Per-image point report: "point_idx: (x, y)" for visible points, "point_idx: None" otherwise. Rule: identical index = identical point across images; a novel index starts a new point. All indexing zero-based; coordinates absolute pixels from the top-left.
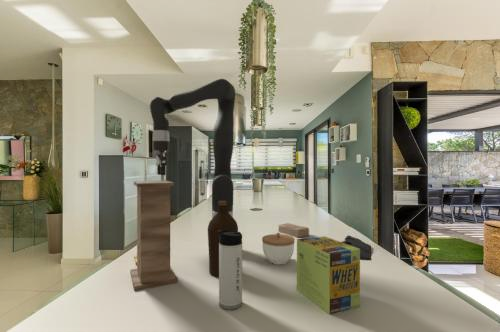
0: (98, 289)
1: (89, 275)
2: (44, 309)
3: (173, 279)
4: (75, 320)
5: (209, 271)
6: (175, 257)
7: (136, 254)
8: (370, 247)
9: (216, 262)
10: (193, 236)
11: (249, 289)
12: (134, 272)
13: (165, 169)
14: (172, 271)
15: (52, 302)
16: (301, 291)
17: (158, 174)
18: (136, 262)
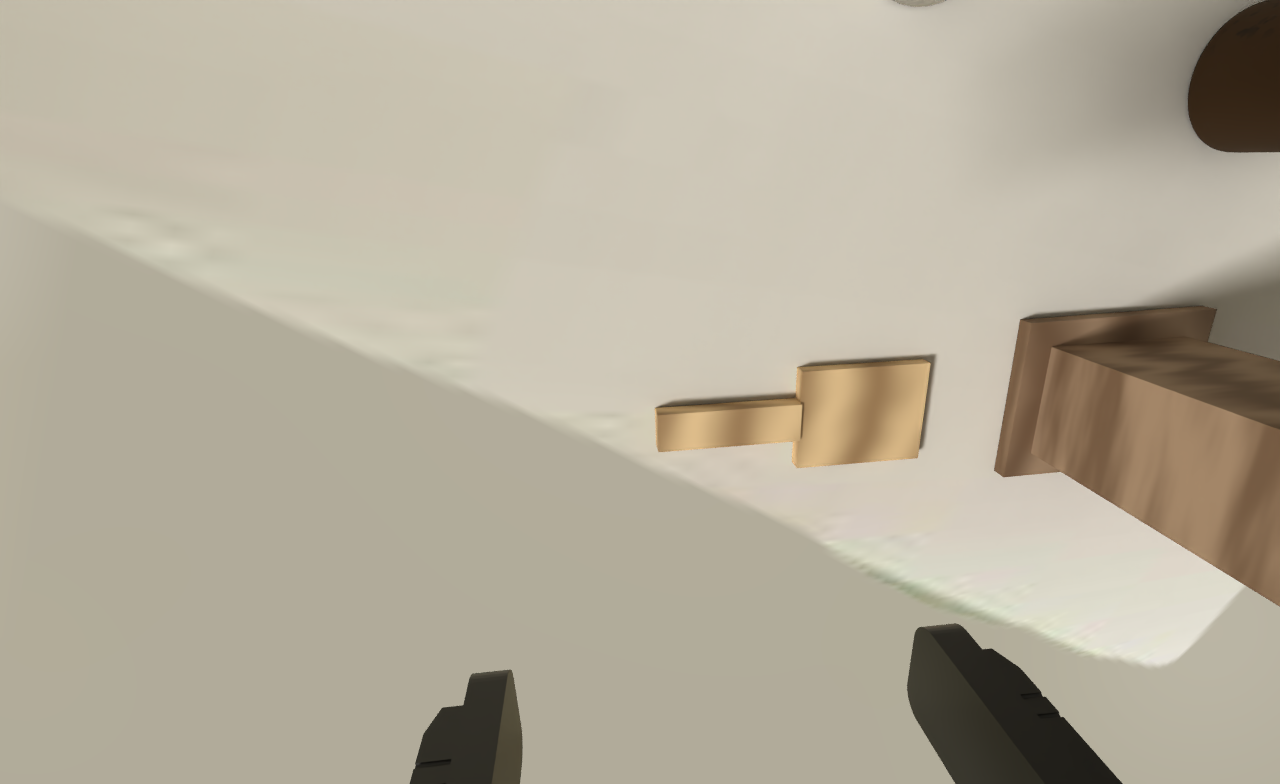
0: (1072, 554)
1: (927, 596)
2: (1111, 651)
3: (1210, 326)
4: (1224, 576)
5: (1228, 151)
6: (909, 267)
7: (807, 457)
8: None
9: None
10: (477, 38)
11: None
12: (1043, 462)
13: (1049, 730)
14: (1134, 319)
15: (1080, 645)
16: None
17: (521, 734)
18: (916, 454)
